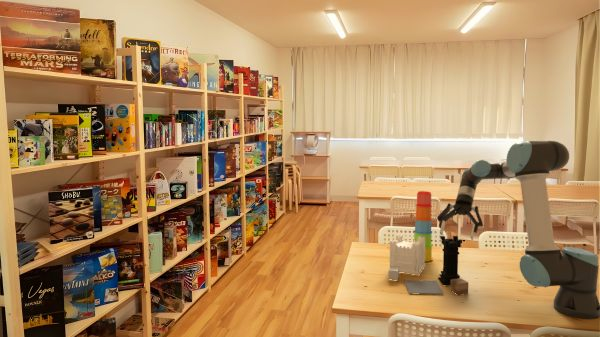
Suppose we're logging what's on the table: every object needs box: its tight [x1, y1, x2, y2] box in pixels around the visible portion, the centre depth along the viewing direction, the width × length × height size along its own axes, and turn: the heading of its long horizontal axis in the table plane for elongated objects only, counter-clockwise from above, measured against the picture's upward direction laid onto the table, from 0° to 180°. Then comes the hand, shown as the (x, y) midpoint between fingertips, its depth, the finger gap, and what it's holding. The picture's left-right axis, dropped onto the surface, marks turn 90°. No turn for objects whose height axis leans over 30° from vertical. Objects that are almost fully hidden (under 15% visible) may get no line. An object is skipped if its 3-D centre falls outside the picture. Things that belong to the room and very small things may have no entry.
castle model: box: [389, 233, 426, 276], centre depth 212 cm, size 14×14×15 cm
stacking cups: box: [413, 190, 434, 262], centre depth 224 cm, size 10×10×35 cm
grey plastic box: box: [388, 265, 400, 281], centre depth 200 cm, size 6×4×5 cm, turn 161°
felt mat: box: [403, 279, 445, 295], centre depth 190 cm, size 14×14×1 cm
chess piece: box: [437, 235, 463, 286], centre depth 194 cm, size 8×8×20 cm
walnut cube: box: [449, 277, 469, 296], centre depth 184 cm, size 5×5×5 cm
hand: (456, 235), depth 201 cm, fingers open, 13 cm apart
